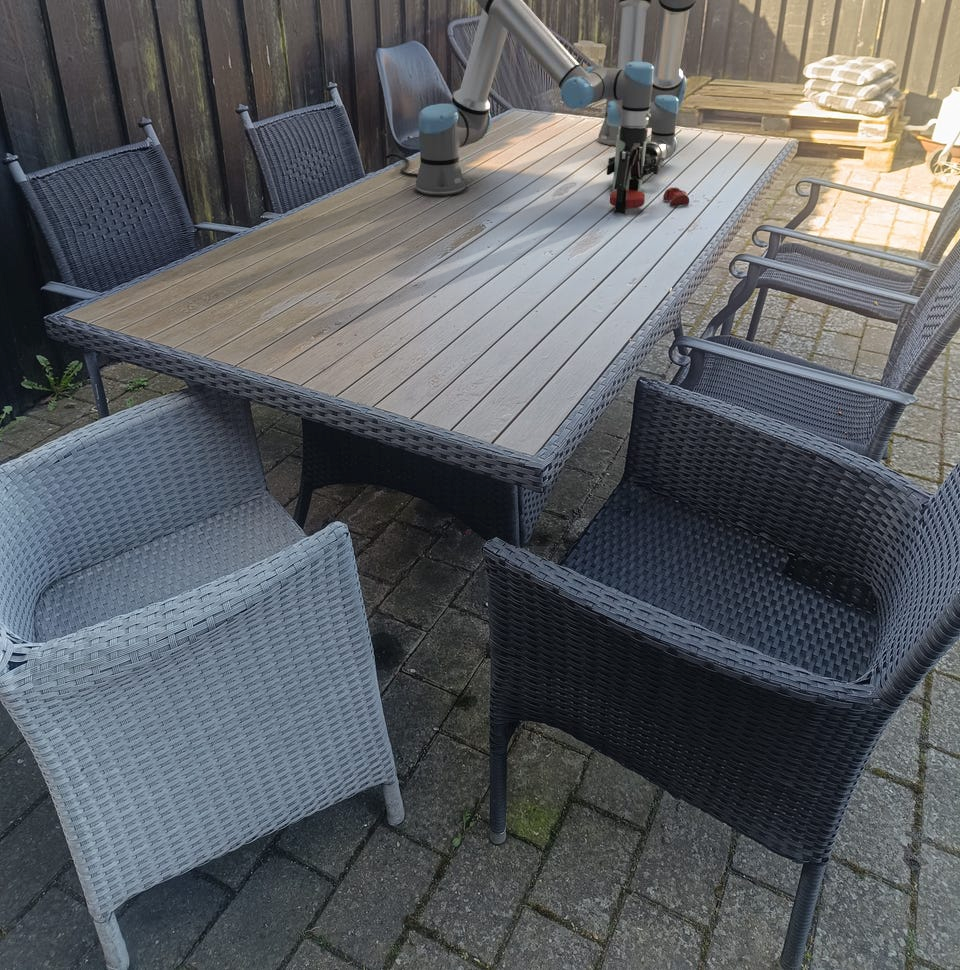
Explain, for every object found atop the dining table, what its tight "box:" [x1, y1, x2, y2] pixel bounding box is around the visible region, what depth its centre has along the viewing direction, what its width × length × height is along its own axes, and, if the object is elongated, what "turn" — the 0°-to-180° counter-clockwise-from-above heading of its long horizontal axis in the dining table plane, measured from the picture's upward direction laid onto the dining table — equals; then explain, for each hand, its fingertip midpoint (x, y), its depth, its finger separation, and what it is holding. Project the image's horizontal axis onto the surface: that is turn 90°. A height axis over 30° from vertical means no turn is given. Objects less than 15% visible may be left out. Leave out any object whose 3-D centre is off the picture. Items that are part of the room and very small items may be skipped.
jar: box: [611, 127, 648, 192], centre depth 253 cm, size 9×9×18 cm
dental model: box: [662, 187, 690, 207], centre depth 246 cm, size 6×4×8 cm
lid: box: [609, 189, 646, 209], centre depth 241 cm, size 10×10×2 cm
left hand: (626, 207), depth 243 cm, fingers closed on lid, 10 cm apart
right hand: (622, 172), depth 251 cm, fingers closed on jar, 9 cm apart
